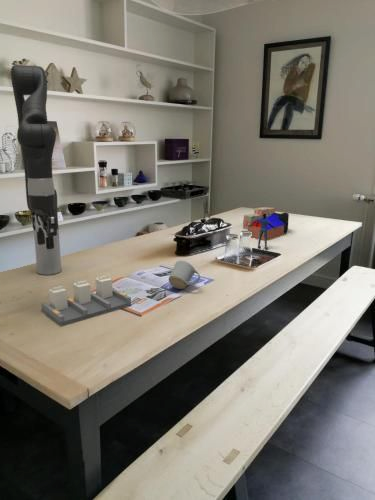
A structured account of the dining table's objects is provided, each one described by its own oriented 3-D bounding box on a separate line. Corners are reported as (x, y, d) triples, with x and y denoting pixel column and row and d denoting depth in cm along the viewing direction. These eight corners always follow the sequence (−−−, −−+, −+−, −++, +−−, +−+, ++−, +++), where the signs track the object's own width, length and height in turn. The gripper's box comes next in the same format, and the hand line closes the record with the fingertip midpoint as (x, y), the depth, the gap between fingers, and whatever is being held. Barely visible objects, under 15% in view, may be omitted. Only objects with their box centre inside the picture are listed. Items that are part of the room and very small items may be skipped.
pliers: (210, 231, 244) (212, 197, 239) (211, 231, 243) (213, 197, 239) (201, 233, 236) (203, 198, 232) (202, 233, 236) (204, 198, 231)
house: (246, 238, 226) (247, 217, 223) (265, 232, 241) (266, 212, 238) (265, 242, 219) (267, 220, 216) (284, 236, 233) (285, 215, 230)
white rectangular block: (96, 295, 140) (95, 276, 138) (106, 292, 142) (105, 273, 140) (102, 299, 137) (101, 279, 135) (112, 296, 139) (111, 276, 137)
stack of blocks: (250, 232, 242) (251, 211, 239) (242, 230, 247) (243, 209, 243) (274, 227, 255) (275, 207, 252) (266, 226, 260) (267, 206, 256)
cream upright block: (50, 307, 130) (48, 286, 128) (62, 304, 132) (60, 284, 130) (55, 311, 127) (53, 290, 125) (67, 308, 129) (66, 287, 127)
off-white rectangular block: (73, 301, 135) (72, 281, 133) (85, 298, 137) (84, 278, 135) (79, 305, 132) (78, 284, 130) (91, 301, 134) (90, 282, 132)
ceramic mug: (175, 291, 152) (162, 277, 149) (184, 275, 157) (172, 261, 154) (196, 288, 145) (183, 273, 141) (205, 271, 150) (193, 256, 146)
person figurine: (275, 250, 203) (278, 214, 199) (271, 252, 200) (273, 215, 195) (255, 246, 210) (257, 211, 205) (251, 248, 206) (253, 212, 202)
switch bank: (41, 310, 130) (40, 301, 129) (108, 293, 145) (108, 285, 144) (60, 326, 120) (60, 316, 119) (131, 305, 135) (130, 297, 134)
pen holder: (279, 227, 245) (279, 211, 242) (291, 230, 238) (292, 214, 234) (268, 231, 240) (268, 214, 237) (280, 234, 233) (280, 217, 229)
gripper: (20, 191, 128) (25, 243, 132) (38, 196, 118) (43, 253, 122) (44, 189, 133) (47, 240, 137) (63, 194, 122) (67, 249, 127)
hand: (45, 246), depth 130 cm, fingers open, 6 cm apart
